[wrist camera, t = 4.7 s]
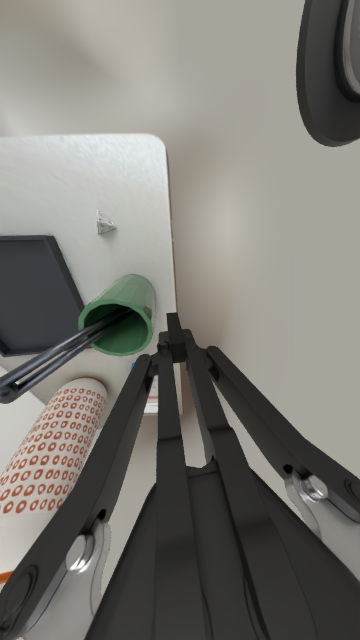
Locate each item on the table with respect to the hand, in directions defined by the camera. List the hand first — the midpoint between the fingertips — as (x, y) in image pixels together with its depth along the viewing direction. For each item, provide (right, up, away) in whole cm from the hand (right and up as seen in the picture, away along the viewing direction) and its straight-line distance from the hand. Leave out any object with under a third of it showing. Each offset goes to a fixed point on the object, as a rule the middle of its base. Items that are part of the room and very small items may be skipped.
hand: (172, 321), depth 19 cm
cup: (-9, +6, +10) cm, 14 cm away
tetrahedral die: (-11, +16, +3) cm, 20 cm away
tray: (-30, +3, +8) cm, 31 cm away
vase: (-28, -21, +23) cm, 41 cm away
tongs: (-9, 0, 0) cm, 9 cm away
